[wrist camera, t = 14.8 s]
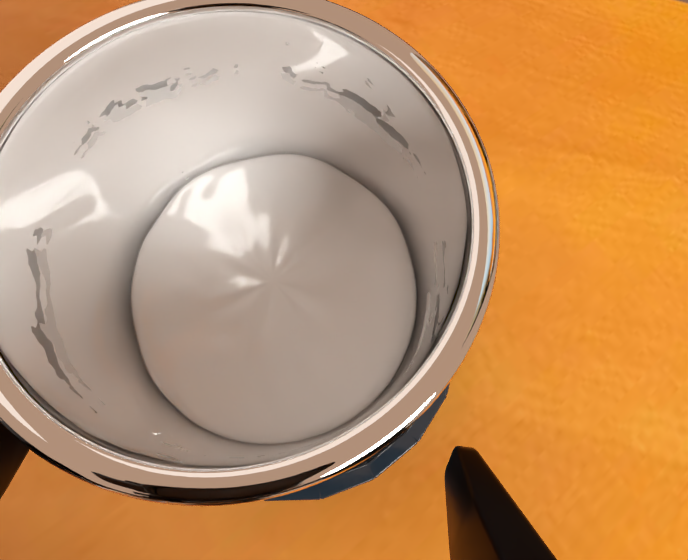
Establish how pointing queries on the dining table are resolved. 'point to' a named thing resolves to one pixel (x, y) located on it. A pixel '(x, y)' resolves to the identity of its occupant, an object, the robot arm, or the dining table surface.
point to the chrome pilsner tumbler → (234, 247)
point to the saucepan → (370, 460)
